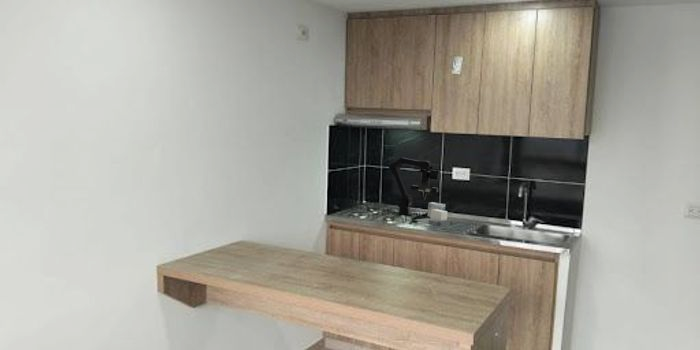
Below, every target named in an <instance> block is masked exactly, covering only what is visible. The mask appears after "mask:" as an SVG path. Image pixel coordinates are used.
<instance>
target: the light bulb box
mask: <svg viewBox="0 0 700 350" xmlns="http://www.w3.org/2000/svg"><path fill="white" fill-rule="evenodd" d="M432 209H439V210H443V211H446V203H440V202H435V201H434V202H433V201H431V202H428V205H427V217H428V218H429V217H430V218H431V210H432Z"/></svg>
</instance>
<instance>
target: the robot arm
mask: <svg viewBox="0 0 700 350" xmlns="http://www.w3.org/2000/svg"><path fill="white" fill-rule="evenodd" d="M403 165H411V166H415V167H418V168H420V169H419V170H418V172H419V173H421V174H420V183H419V184H418V185H417V184H412V185H411V186H410V190H412V191H415V190H418V191H417V192H419V194H420V196H421V199H422V200H421V201H423V202H424V201H425V200H426V197H427V195H428V193H430V192H432V193H438V192H439V187H435V186H433V187H430V180H431V181H437V182H438V181H441V177H442V175H441V172H440V171H441V170H436V169H434V166H433V163H432V162H431V161H430V160H417V159H411V158H406V157H400V158H399V159H397V160H396V161H394V162H393V163H390V164H389V166H388V170H389V172H390V173H391V174H392V175H393V177H394V179H395V182H396V185H397V188H398V190H399V192H400V202H399V203H398V204H397V205H398V216H409V215H410V209H409V208H410V207H411V206H412V205H413V202H414V201H413V200H414V198H413V197H412V194H411V193H409V192H408V191H407V188H406V185H405V183H404V180H403V178H402V175H401V170H402V169H401V167H403Z"/></svg>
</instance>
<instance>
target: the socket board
mask: <svg viewBox="0 0 700 350" xmlns="http://www.w3.org/2000/svg"><path fill="white" fill-rule="evenodd" d="M415 221H417V222H421V223H424V224H427V225H430V226H431V225H432V226H434V227H446V226H452V225H453V219H451V218H450V219H447V220H441V221H434V220H431V218H429V217H427V218H417V219H415Z"/></svg>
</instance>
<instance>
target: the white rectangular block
mask: <svg viewBox="0 0 700 350" xmlns="http://www.w3.org/2000/svg"><path fill="white" fill-rule="evenodd" d="M430 219H431V220H434V221H441V220H448V210H445V211H443V210H439V209H432V210H431V217H430Z"/></svg>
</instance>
